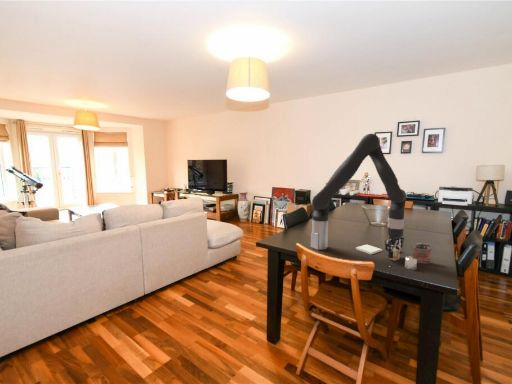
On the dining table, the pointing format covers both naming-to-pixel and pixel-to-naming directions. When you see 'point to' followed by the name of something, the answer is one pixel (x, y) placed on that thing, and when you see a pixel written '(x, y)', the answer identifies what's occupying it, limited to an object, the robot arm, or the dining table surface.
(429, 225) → the dining table surface
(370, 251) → the plate
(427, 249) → the lighter
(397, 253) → the beech block
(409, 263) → the metal tin
